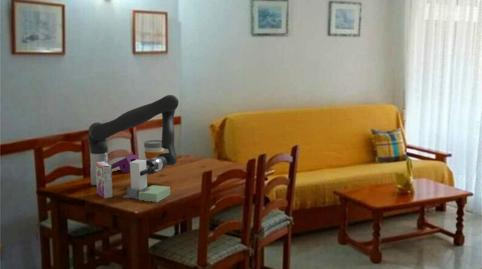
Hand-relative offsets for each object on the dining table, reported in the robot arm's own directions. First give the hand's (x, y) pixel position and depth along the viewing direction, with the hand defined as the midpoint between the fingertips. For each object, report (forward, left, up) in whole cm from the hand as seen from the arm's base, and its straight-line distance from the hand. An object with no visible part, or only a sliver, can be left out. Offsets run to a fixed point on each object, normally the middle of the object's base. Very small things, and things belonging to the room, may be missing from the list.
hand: (135, 173), depth 268 cm
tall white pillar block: (+1, +2, -8) cm, 9 cm away
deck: (+5, 0, -12) cm, 13 cm away
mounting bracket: (-9, +60, -12) cm, 62 cm away
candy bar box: (-16, +5, -12) cm, 21 cm away
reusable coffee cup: (+10, +70, -12) cm, 72 cm away
